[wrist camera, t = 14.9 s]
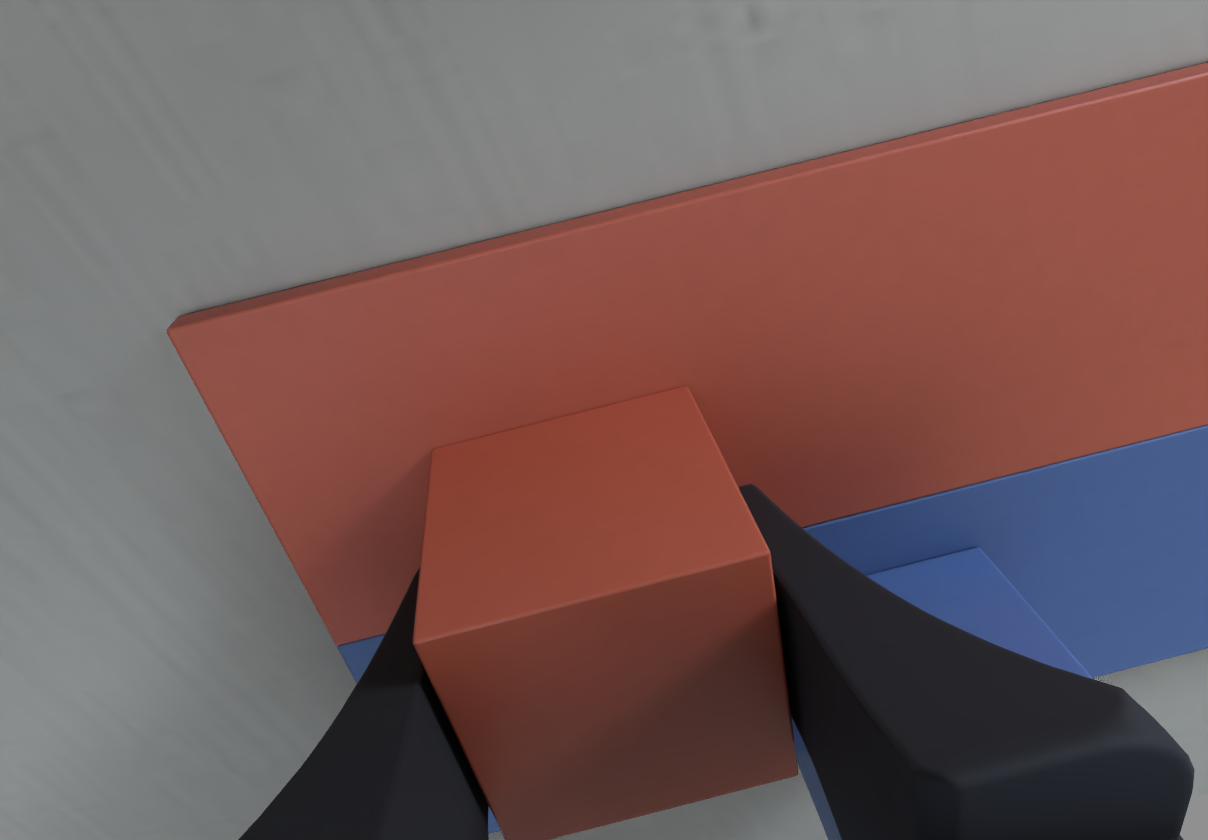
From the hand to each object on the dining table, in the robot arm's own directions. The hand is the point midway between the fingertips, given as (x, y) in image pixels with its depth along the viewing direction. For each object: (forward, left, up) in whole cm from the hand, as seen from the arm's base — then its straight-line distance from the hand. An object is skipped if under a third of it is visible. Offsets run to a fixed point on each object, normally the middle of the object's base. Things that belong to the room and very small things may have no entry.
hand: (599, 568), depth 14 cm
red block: (0, 0, -1) cm, 1 cm away
